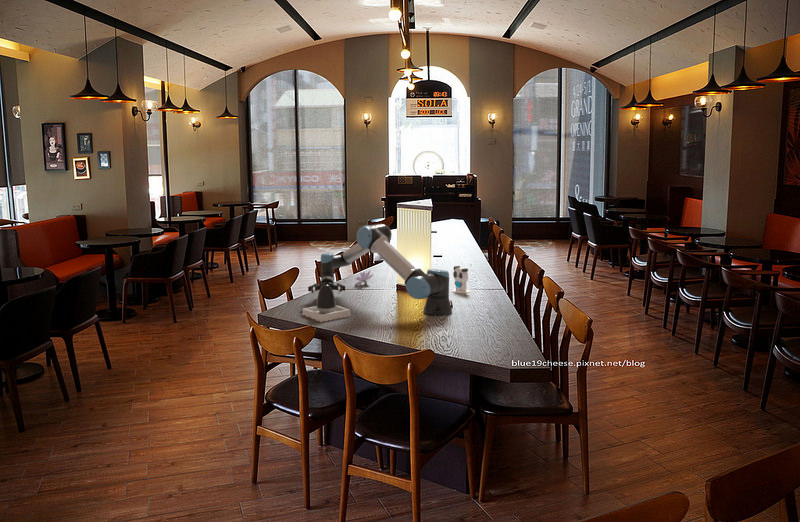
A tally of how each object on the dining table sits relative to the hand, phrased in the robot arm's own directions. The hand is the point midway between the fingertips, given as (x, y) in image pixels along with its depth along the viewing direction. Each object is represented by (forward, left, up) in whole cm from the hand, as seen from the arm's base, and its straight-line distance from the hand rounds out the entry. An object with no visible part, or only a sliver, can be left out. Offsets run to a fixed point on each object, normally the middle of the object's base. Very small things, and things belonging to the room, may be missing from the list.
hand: (326, 291), depth 338 cm
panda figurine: (-12, -90, -11) cm, 91 cm away
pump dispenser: (-8, +5, -9) cm, 13 cm away
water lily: (+40, -54, -11) cm, 68 cm away
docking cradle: (-8, +5, -11) cm, 14 cm away
